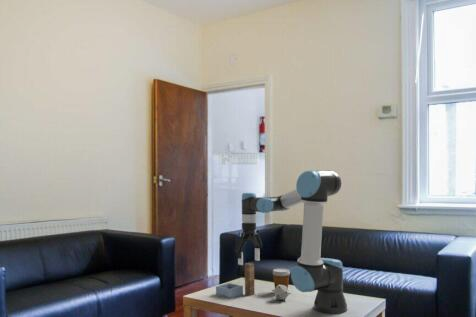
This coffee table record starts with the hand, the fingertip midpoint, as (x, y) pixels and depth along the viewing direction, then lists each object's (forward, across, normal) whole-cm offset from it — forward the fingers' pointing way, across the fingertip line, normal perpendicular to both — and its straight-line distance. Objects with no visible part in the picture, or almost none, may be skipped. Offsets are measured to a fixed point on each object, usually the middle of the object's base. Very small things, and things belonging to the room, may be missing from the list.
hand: (249, 262), depth 236 cm
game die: (+17, -2, +20) cm, 26 cm away
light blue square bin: (+17, +7, -8) cm, 20 cm away
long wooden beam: (+17, 0, 0) cm, 17 cm away
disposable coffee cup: (+17, -13, +12) cm, 24 cm away
